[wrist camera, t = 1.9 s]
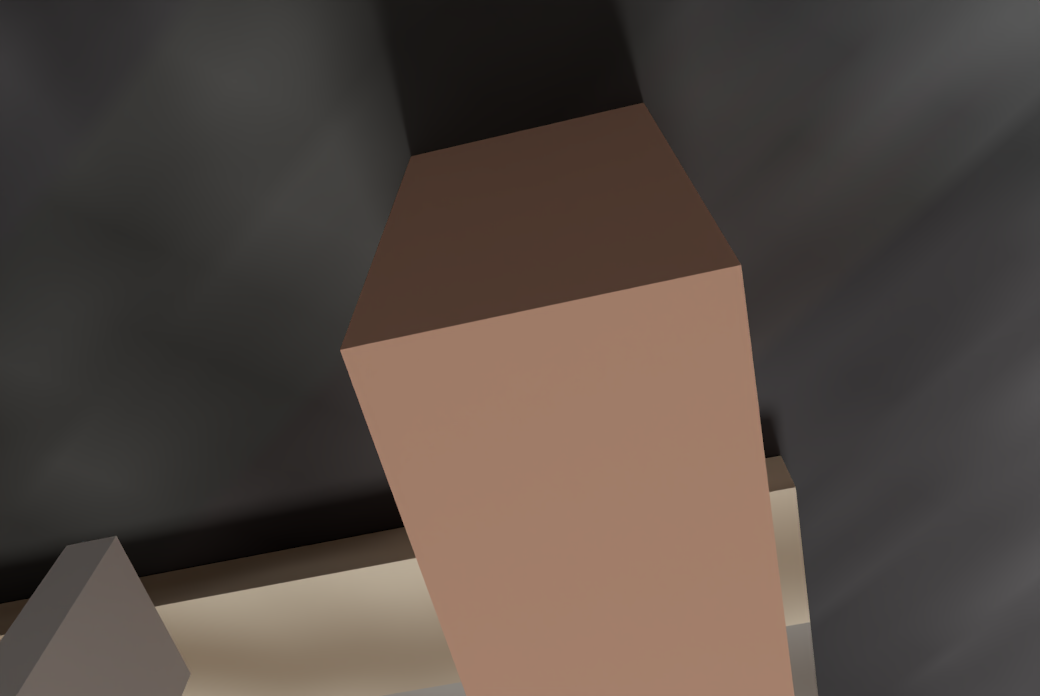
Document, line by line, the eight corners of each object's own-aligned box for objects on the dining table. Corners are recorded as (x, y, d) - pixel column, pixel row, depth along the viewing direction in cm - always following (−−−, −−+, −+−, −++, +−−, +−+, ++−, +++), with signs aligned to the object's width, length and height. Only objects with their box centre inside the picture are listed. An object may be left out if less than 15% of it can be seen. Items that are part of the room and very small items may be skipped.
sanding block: (411, 156, 17) (340, 349, 10) (643, 101, 17) (740, 264, 10) (497, 452, 20) (489, 760, 13) (694, 413, 20) (796, 709, 13)
